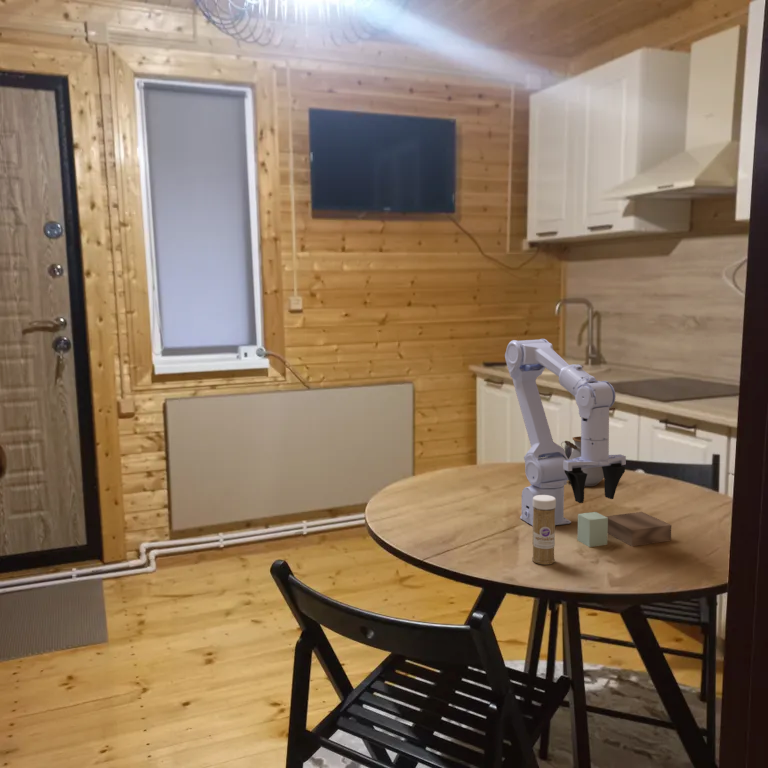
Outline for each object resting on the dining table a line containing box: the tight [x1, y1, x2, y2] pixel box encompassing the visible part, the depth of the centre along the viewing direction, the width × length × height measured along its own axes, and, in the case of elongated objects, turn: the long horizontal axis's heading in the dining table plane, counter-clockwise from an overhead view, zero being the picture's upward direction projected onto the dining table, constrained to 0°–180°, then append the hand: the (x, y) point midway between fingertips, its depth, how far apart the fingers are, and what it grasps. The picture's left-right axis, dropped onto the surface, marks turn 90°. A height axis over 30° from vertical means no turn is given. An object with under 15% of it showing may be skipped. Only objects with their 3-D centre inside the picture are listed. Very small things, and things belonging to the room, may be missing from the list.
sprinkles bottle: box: [531, 495, 556, 566], centre depth 143 cm, size 5×5×13 cm
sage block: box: [576, 511, 609, 548], centre depth 154 cm, size 4×4×6 cm
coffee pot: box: [560, 436, 604, 487], centre depth 197 cm, size 21×12×15 cm, turn 145°
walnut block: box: [604, 511, 672, 547], centre depth 158 cm, size 10×10×4 cm
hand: (594, 499), depth 153 cm, fingers open, 7 cm apart
